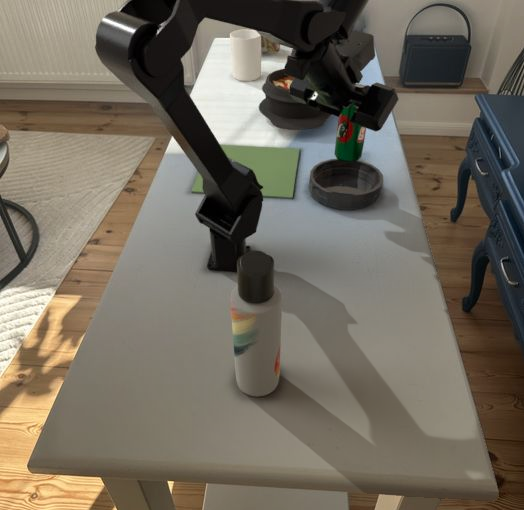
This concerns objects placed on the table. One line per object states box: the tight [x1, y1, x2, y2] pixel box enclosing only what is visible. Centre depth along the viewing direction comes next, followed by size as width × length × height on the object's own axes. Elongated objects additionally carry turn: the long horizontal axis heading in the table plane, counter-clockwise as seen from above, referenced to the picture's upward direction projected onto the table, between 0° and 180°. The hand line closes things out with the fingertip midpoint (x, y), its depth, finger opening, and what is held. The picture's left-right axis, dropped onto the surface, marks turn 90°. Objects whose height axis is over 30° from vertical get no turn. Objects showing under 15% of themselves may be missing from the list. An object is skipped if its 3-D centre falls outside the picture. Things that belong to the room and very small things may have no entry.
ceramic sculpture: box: [261, 36, 281, 54], centre depth 146 cm, size 11×9×15 cm
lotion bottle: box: [230, 250, 283, 397], centre depth 56 cm, size 6×6×20 cm
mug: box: [229, 28, 262, 82], centre depth 133 cm, size 12×8×10 cm
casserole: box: [258, 68, 332, 131], centre depth 115 cm, size 25×19×8 cm
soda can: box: [333, 83, 367, 163], centre depth 85 cm, size 5×5×12 cm
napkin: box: [190, 144, 301, 199], centre depth 101 cm, size 20×20×1 cm
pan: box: [308, 158, 384, 210], centre depth 94 cm, size 14×14×3 cm
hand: (357, 120), depth 86 cm, fingers closed on soda can, 5 cm apart
